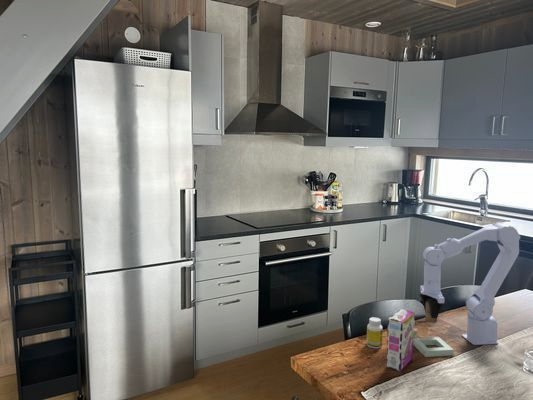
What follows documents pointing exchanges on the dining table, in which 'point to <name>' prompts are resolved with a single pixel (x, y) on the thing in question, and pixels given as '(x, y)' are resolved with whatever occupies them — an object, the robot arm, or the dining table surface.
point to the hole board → (429, 352)
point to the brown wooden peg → (428, 315)
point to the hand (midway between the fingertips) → (431, 315)
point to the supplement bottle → (374, 333)
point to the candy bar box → (400, 339)
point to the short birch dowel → (415, 333)
